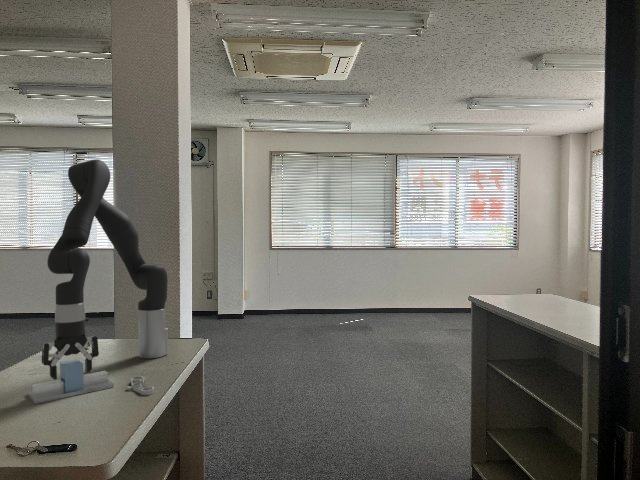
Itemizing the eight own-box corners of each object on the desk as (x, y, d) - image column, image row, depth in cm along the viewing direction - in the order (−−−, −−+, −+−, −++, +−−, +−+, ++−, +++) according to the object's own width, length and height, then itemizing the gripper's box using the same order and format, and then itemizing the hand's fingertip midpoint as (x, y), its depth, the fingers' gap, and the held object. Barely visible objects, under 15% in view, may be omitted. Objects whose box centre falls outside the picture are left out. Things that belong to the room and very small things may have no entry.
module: (77, 382, 137) (76, 359, 137) (83, 388, 132) (83, 363, 132) (60, 386, 134) (59, 362, 134) (66, 391, 129) (65, 366, 129)
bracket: (155, 374, 143) (153, 388, 129) (155, 380, 143) (153, 395, 129) (129, 376, 141) (124, 391, 127) (129, 383, 141) (124, 399, 127)
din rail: (103, 379, 143) (103, 367, 143) (113, 387, 136) (113, 375, 136) (27, 394, 130) (27, 382, 130) (34, 404, 123) (34, 391, 123)
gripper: (93, 314, 140) (94, 367, 140) (38, 320, 131) (40, 377, 131) (100, 317, 134) (101, 373, 135) (44, 324, 125) (45, 384, 125)
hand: (71, 375), depth 133 cm, fingers open, 8 cm apart
